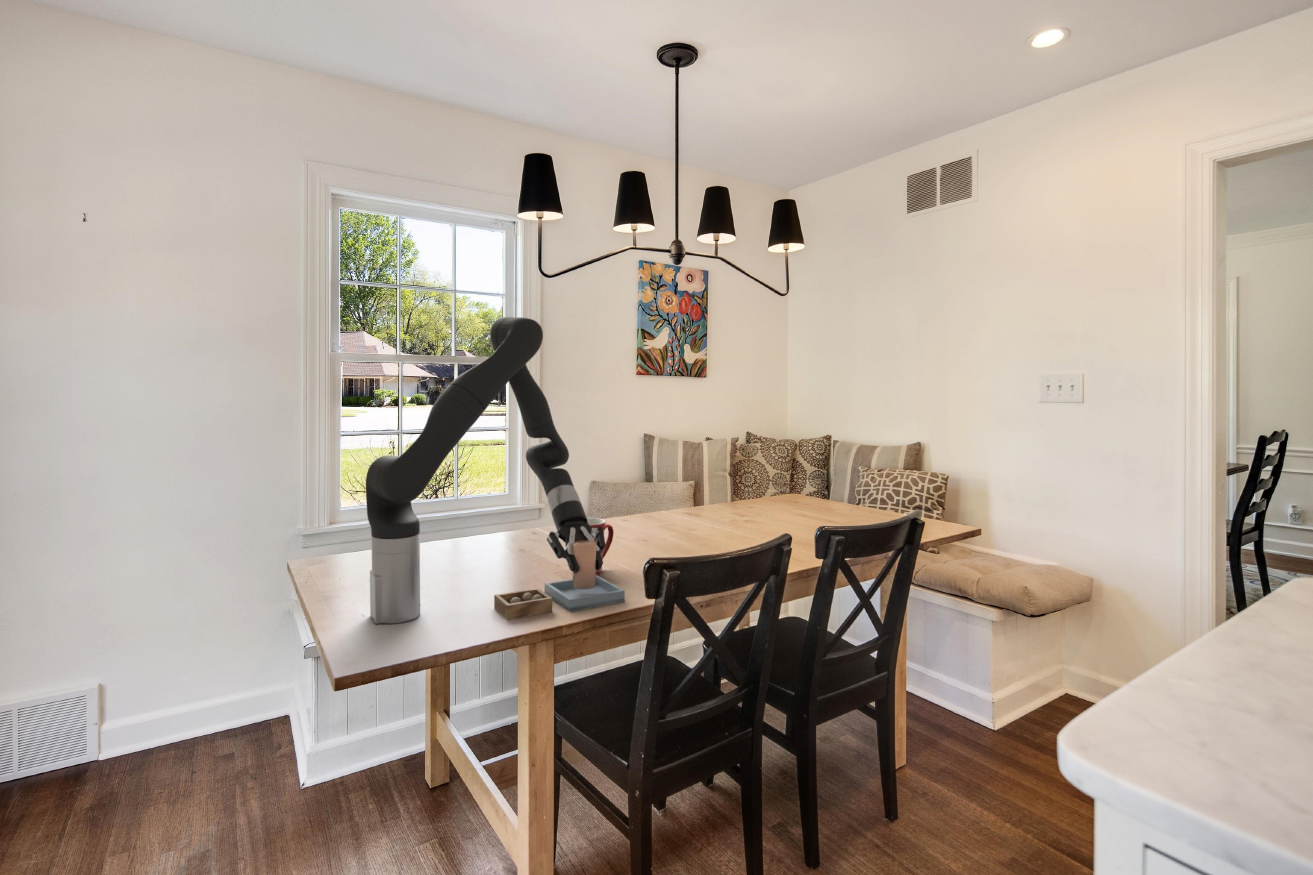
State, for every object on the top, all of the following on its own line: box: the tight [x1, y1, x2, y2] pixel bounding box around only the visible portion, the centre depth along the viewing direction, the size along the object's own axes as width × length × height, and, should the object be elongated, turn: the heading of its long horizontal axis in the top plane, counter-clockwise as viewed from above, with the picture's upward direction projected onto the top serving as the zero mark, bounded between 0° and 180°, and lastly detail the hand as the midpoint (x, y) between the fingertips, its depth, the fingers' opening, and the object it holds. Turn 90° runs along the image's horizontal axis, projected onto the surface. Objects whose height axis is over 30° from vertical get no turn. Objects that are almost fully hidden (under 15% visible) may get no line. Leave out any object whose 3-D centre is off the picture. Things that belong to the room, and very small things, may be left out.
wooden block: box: [572, 540, 597, 589], centre depth 148 cm, size 5×5×10 cm
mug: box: [587, 517, 615, 575], centre depth 171 cm, size 13×9×14 cm
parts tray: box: [493, 587, 553, 621], centre depth 140 cm, size 10×8×3 cm
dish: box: [544, 574, 626, 612], centre depth 149 cm, size 14×14×3 cm
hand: (588, 569), depth 147 cm, fingers closed on wooden block, 5 cm apart
